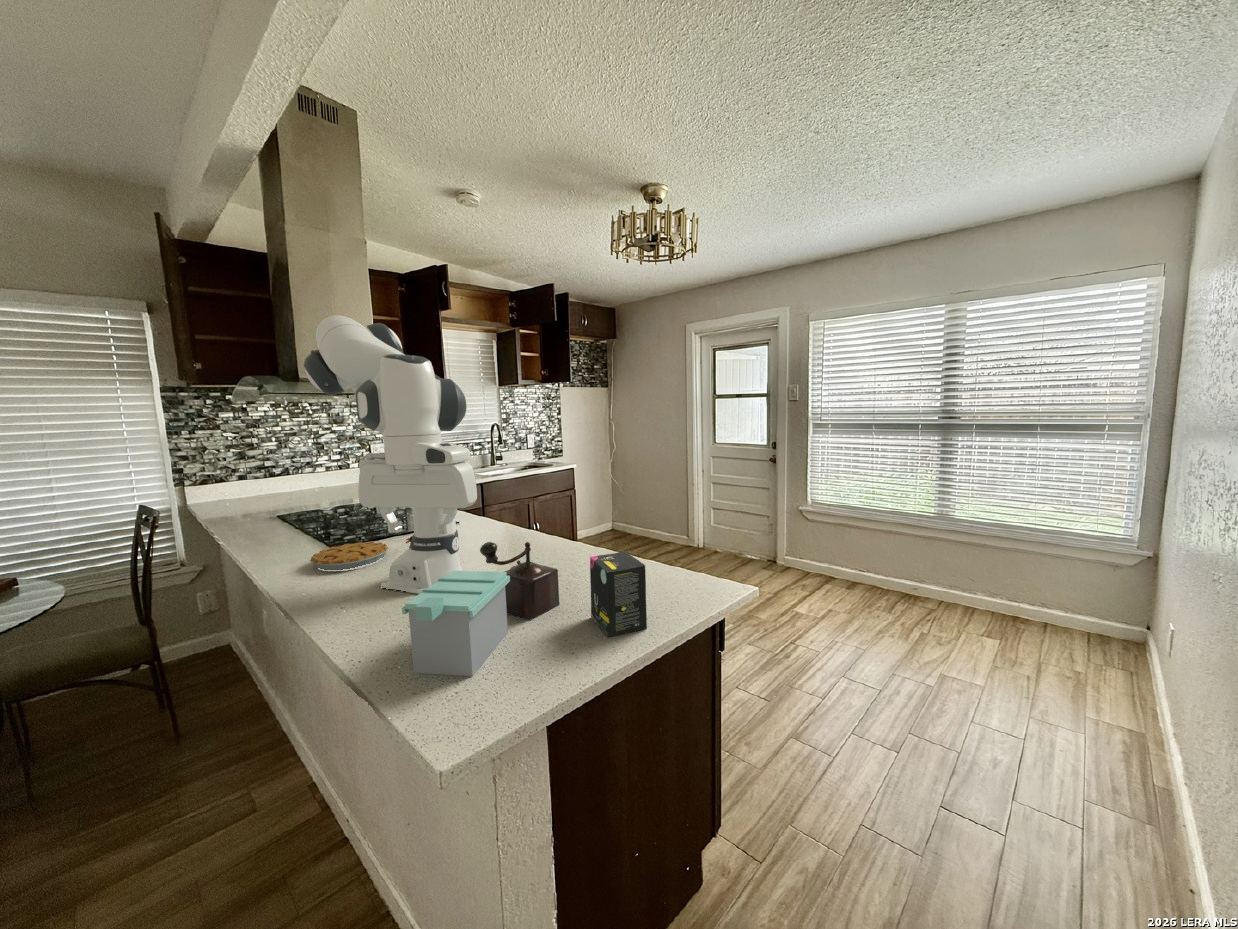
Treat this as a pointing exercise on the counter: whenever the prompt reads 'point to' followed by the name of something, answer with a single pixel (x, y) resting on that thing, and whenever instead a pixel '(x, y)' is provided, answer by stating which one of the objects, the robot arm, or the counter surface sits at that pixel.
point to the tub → (458, 639)
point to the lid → (457, 594)
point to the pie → (349, 555)
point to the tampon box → (618, 593)
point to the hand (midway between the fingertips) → (420, 532)
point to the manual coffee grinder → (526, 584)
